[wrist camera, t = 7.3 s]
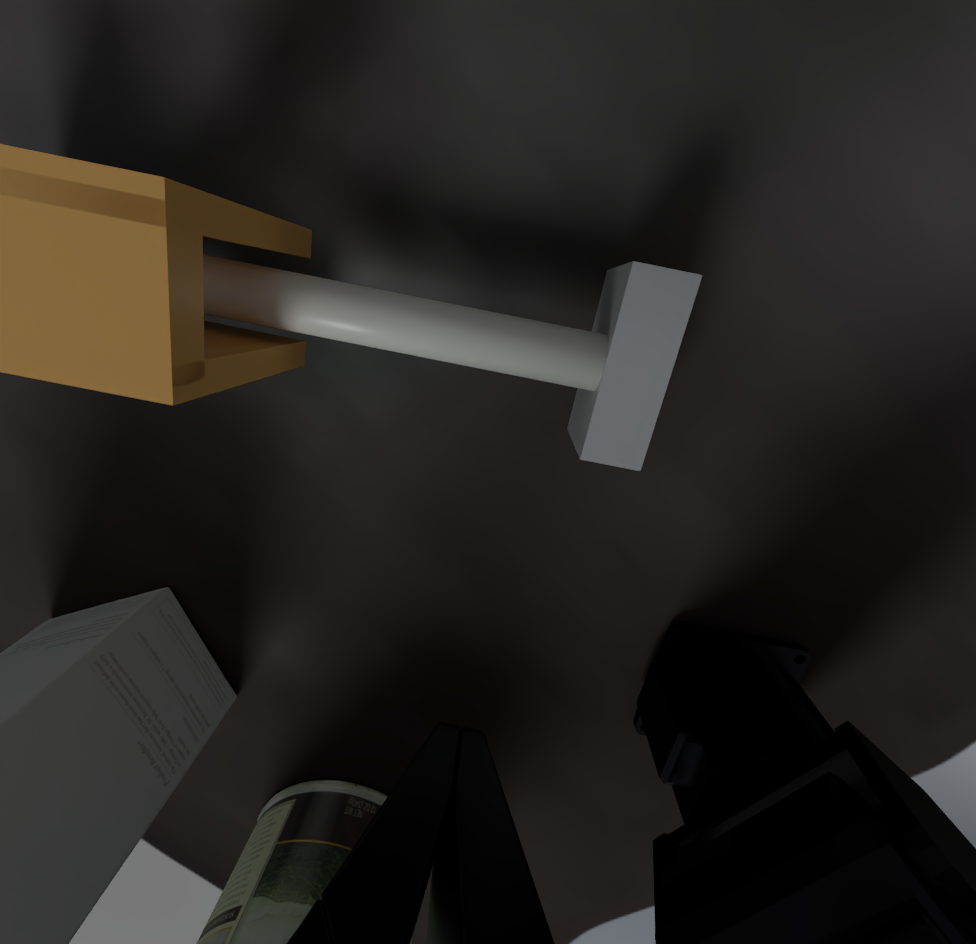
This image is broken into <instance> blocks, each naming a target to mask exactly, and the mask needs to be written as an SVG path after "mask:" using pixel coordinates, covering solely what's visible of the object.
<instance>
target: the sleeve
mask: <svg viewBox="0 0 976 944" xmlns="http://www.w3.org/2000/svg"><path fill="white" fill-rule="evenodd" d="M203 237H206V238H211V239H216V240H221V241H226V242H231V243H236V244H241V245H246V246H251V247H256V248H261V249H266V250H271V251H276V252H281V253H286V254H291V255H296V256H301V257H305V258H310V259H311V246H312V230H311V229H308V228H305V227H302V226H300V225H297V224H294V223H291V222H288V221H286V220H283V219H280V218H277V217H274V216H272V215H269V214H266V213H263V212H260V211H258V210H255V209H252V208H249V207H246V206H244V205H241V204H238V203H235V202H232V201H230V200H227V199H224V198H221V197H218V196H216V195H213V194H210V193H207V192H204V191H201V190H199V189H196V188H193V187H190V186H187V185H185V184H182V183H179V182H176V181H173V180H171V179H168V178H165V177H161V176H156V175H151V174H146V173H141V172H136V171H131V170H126V169H121V168H116V167H111V166H106V165H101V164H96V163H91V162H86V161H82V160H77V159H72V158H67V157H62V156H57V155H52V154H47V153H42V152H37V151H32V150H27V149H22V148H17V147H12V146H7V145H2V144H0V372H3V373H8V374H13V375H18V376H23V377H29V378H34V379H39V380H44V381H49V382H54V383H59V384H64V385H70V386H75V387H80V388H85V389H90V390H95V391H100V392H105V393H111V394H116V395H121V396H126V397H131V398H136V399H141V400H147V401H152V402H157V403H162V404H167V405H172V406H174V405H177V404H180V403H184V402H187V401H190V400H193V399H197V398H200V397H203V396H206V395H210V394H213V393H216V392H220V391H223V390H226V389H229V388H233V387H236V386H239V385H243V384H246V383H249V382H252V381H256V380H259V379H262V378H266V377H269V376H272V375H275V374H279V373H282V372H285V371H289V370H292V369H295V368H298V367H302V366H305V353H306V341H304V340H299V339H294V338H289V337H284V336H279V335H274V334H269V333H264V332H258V331H253V330H248V329H243V328H238V327H233V326H228V325H223V324H218V323H213V322H208V321H204V292H203Z"/></svg>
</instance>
